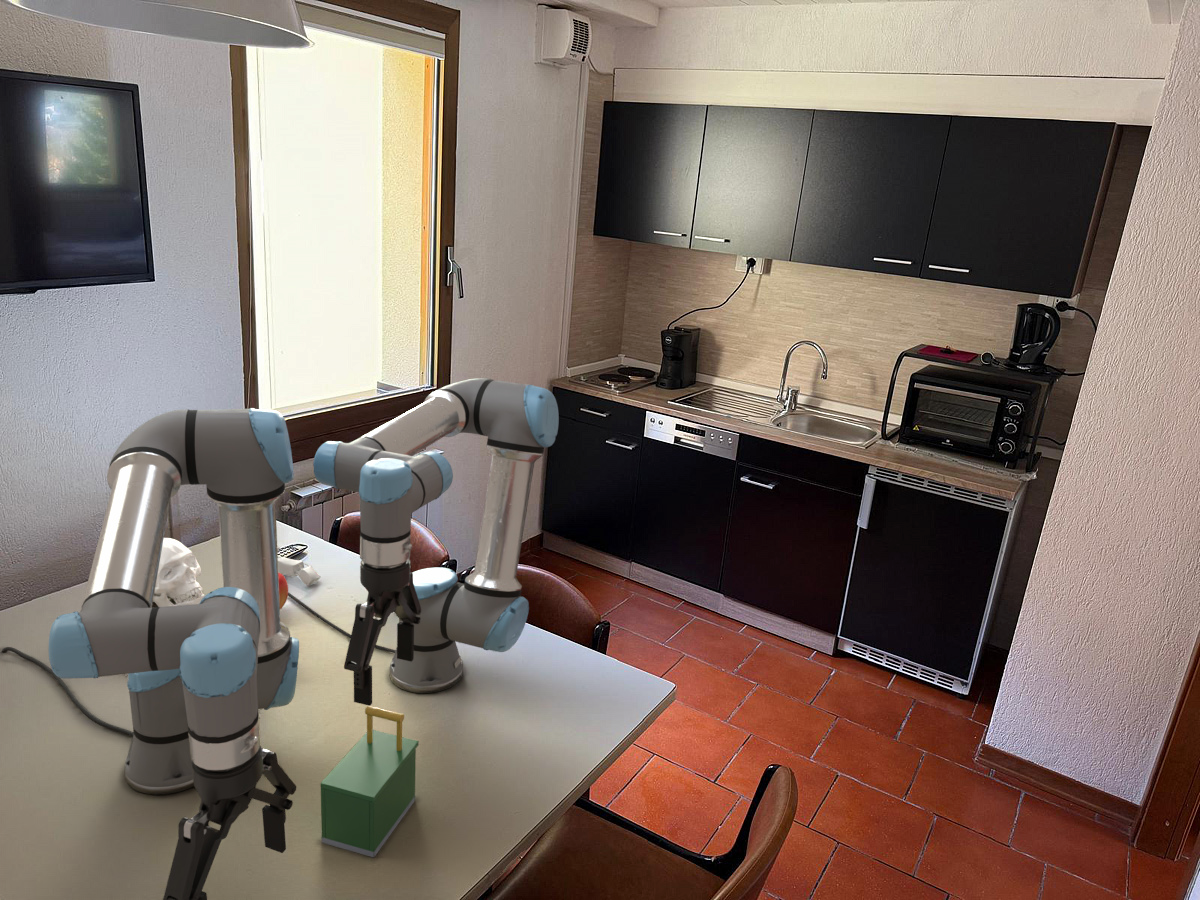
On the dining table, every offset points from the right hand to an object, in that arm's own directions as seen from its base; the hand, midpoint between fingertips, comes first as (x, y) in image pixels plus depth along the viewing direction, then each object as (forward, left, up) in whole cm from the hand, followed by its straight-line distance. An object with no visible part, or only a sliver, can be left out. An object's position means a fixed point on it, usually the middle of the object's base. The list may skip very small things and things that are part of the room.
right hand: (385, 680), depth 138 cm
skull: (-87, +25, -24) cm, 93 cm away
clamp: (-76, +51, -24) cm, 95 cm away
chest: (+1, -5, -24) cm, 24 cm away
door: (+1, -4, -13) cm, 14 cm away
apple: (-65, +34, -24) cm, 77 cm away
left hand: (+7, -35, -9) cm, 37 cm away
